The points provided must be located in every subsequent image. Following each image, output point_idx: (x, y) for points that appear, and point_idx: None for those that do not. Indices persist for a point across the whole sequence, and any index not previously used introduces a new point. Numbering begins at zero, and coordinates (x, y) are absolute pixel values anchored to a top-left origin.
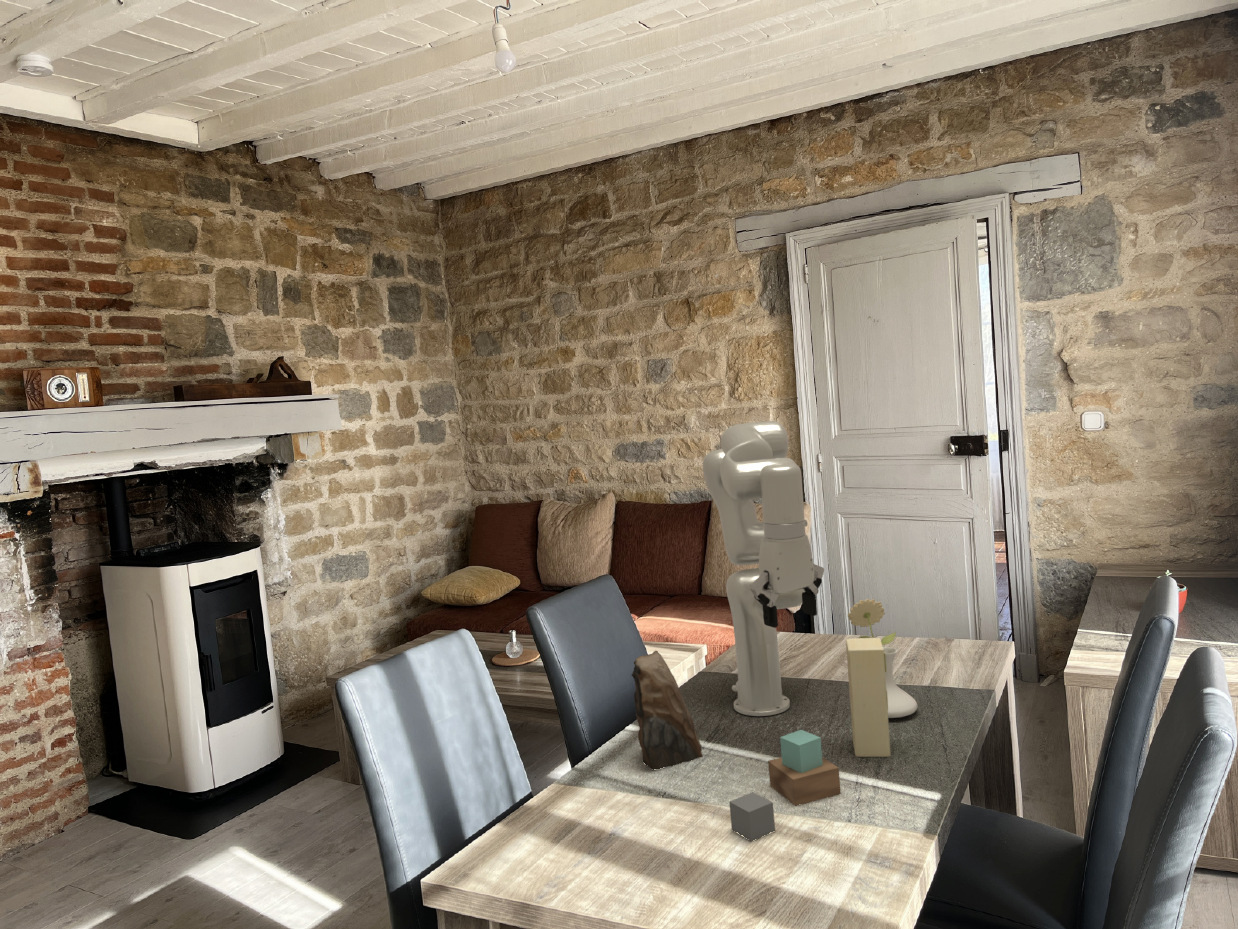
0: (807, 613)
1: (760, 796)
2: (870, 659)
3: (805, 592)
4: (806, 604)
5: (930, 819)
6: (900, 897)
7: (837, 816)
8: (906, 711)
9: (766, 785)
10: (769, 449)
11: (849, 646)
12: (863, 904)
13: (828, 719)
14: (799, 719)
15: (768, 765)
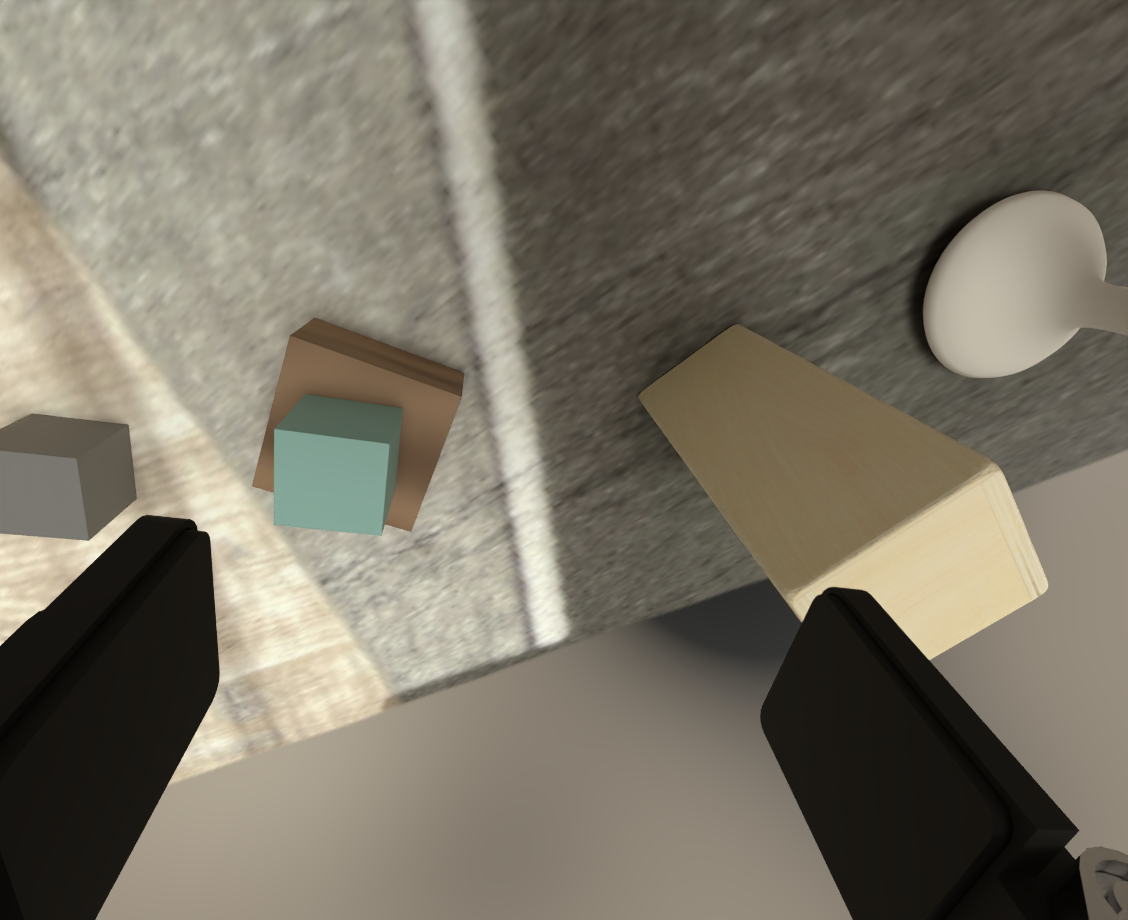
0: (793, 648)
1: (79, 493)
2: None
3: (1004, 907)
4: (854, 735)
5: (451, 677)
6: (176, 776)
7: (319, 553)
8: (961, 373)
9: (309, 305)
10: None
11: (855, 565)
12: None
13: (876, 130)
14: (838, 19)
15: (295, 332)
